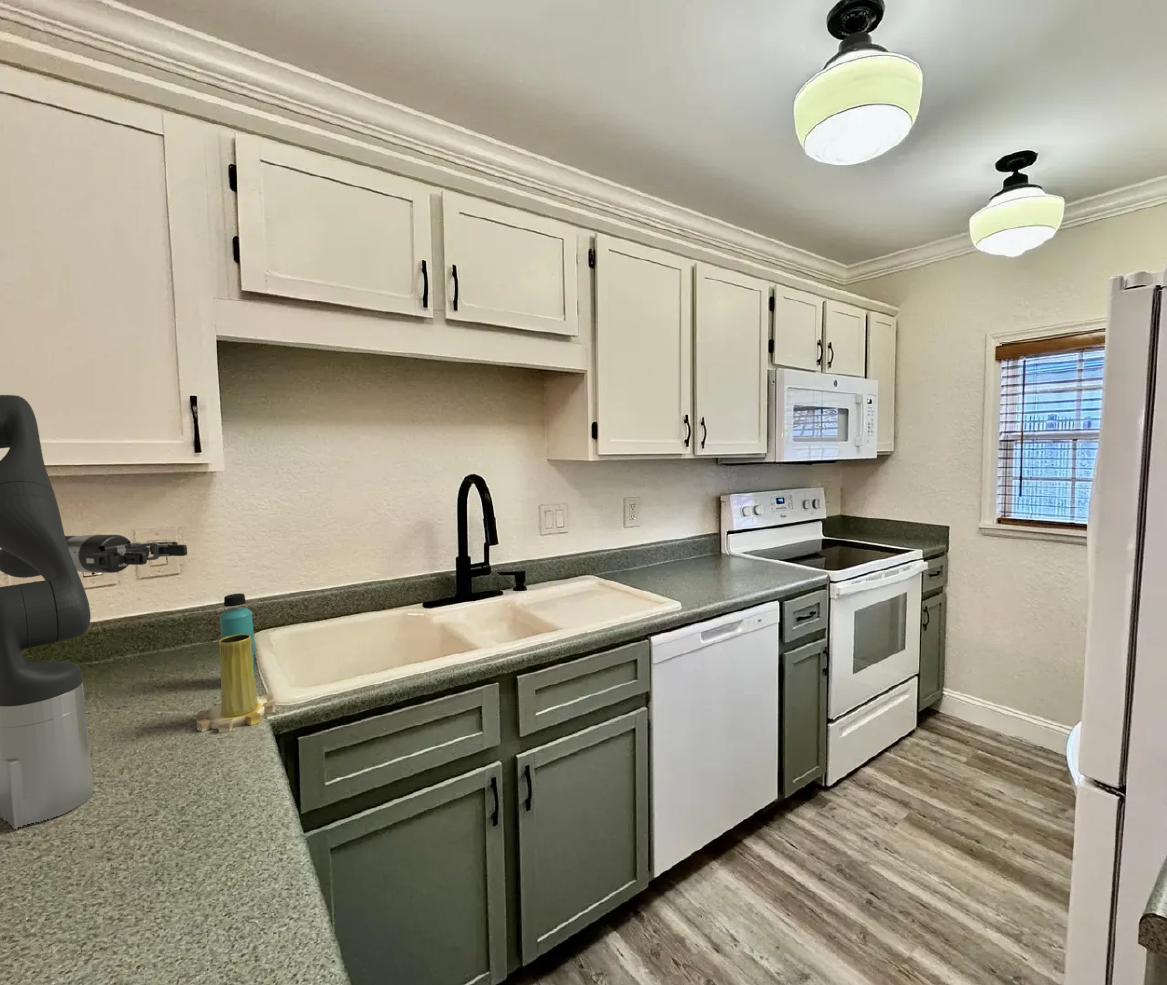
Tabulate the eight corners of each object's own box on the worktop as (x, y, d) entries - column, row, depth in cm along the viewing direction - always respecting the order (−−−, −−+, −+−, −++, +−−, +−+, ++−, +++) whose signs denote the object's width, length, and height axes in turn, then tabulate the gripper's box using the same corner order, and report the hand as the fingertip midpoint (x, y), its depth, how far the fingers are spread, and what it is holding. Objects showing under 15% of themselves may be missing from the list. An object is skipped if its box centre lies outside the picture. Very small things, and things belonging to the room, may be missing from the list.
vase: (265, 704, 109) (260, 634, 108) (238, 719, 103) (233, 645, 102) (241, 701, 110) (236, 632, 109) (213, 715, 104) (207, 642, 103)
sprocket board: (218, 739, 99) (218, 731, 98) (182, 722, 105) (181, 715, 105) (289, 708, 110) (289, 701, 110) (252, 695, 117) (252, 688, 116)
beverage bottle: (242, 688, 120) (235, 599, 119) (216, 686, 121) (209, 598, 120) (264, 676, 126) (258, 591, 125) (240, 674, 128) (234, 590, 126)
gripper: (55, 540, 102) (128, 541, 99) (130, 529, 116) (196, 529, 113) (59, 580, 103) (131, 582, 100) (133, 564, 117) (199, 565, 114)
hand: (166, 554), depth 107 cm, fingers open, 8 cm apart
